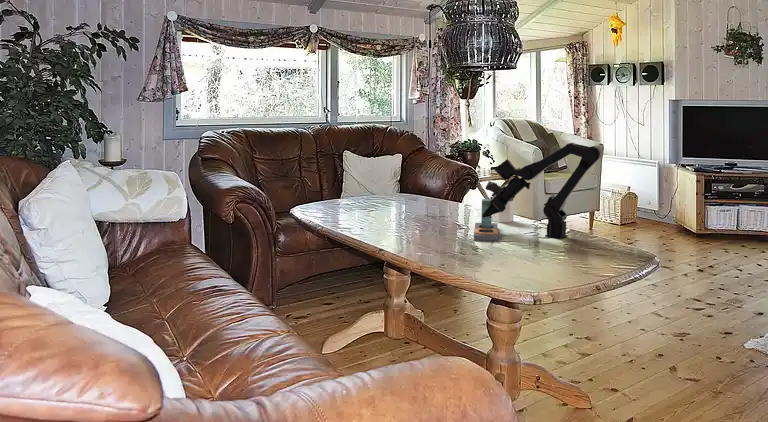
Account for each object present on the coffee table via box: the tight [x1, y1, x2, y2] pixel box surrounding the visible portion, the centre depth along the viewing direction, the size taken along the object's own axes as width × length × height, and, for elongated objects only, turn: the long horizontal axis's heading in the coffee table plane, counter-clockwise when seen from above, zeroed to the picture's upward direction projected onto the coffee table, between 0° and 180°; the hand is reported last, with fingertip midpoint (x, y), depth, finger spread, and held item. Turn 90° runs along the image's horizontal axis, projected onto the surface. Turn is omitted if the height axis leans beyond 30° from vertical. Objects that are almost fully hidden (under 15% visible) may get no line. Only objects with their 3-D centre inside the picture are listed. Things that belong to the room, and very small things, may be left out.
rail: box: [473, 222, 499, 242], centre depth 256 cm, size 26×9×2 cm, turn 170°
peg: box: [480, 198, 493, 228], centre depth 260 cm, size 4×4×13 cm
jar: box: [492, 198, 515, 224], centre depth 283 cm, size 9×8×12 cm
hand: (483, 215), depth 260 cm, fingers open, 6 cm apart
